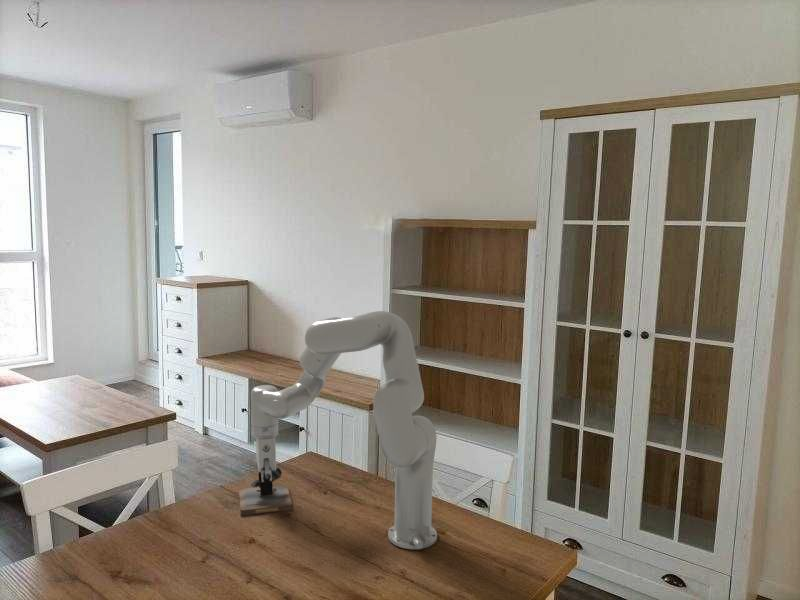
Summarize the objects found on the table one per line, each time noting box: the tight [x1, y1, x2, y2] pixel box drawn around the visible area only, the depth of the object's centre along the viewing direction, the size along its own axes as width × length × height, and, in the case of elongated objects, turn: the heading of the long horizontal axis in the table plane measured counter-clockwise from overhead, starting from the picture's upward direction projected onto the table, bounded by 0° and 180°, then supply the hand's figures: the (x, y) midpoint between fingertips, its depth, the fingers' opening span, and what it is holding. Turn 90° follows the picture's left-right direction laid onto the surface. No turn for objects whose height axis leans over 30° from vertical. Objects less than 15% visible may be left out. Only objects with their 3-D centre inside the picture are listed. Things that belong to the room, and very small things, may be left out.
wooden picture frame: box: [238, 483, 293, 516], centre depth 169 cm, size 14×14×2 cm
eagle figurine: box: [250, 467, 283, 498], centre depth 170 cm, size 8×7×9 cm
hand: (265, 487), depth 169 cm, fingers open, 8 cm apart
